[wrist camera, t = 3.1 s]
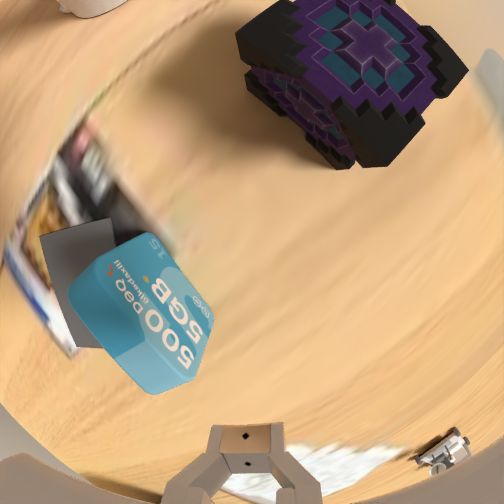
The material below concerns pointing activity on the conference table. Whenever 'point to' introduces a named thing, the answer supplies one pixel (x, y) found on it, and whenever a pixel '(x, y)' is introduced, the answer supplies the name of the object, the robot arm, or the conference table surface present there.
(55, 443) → the conference table surface
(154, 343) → the light blue flat block
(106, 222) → the mat
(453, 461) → the toy car
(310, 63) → the energy cube
